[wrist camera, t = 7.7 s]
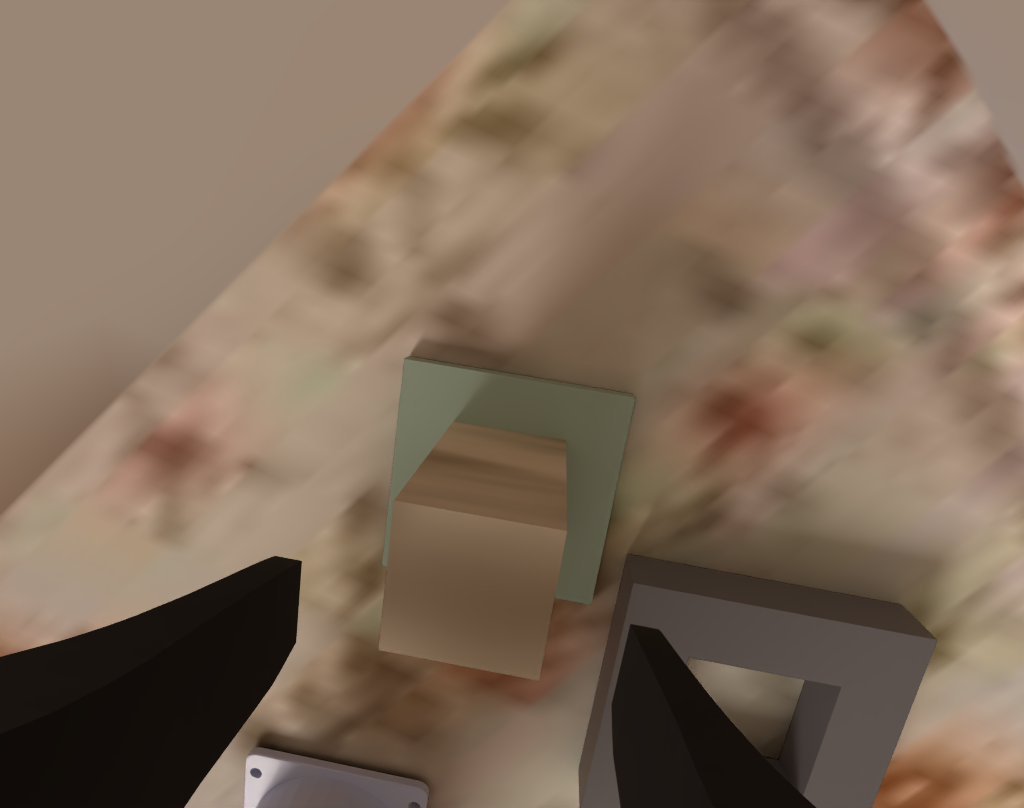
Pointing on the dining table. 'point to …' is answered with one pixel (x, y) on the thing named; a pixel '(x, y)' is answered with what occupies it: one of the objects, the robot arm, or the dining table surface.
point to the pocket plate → (776, 670)
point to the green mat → (531, 410)
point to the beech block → (478, 551)
